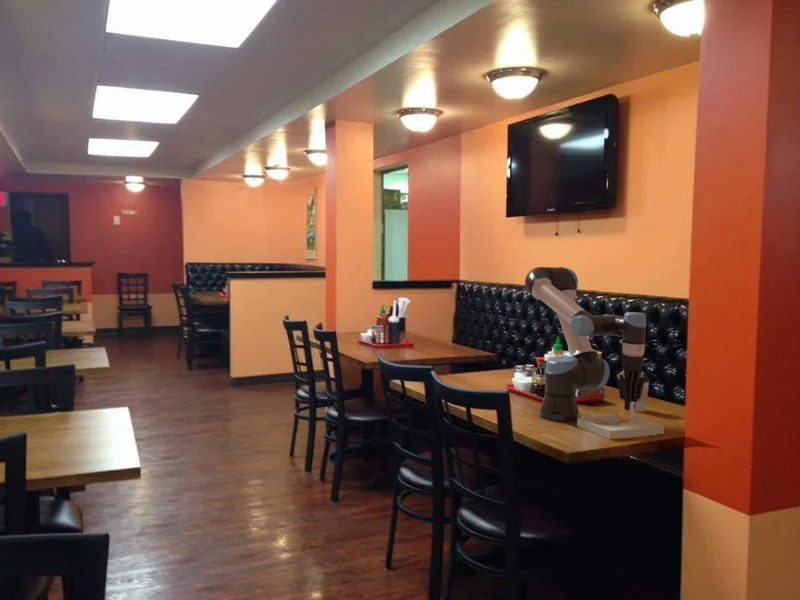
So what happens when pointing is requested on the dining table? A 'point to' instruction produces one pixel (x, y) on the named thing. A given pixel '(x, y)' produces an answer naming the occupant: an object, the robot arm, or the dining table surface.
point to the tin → (591, 392)
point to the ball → (624, 416)
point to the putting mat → (619, 427)
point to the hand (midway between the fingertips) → (629, 418)
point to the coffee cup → (642, 397)
